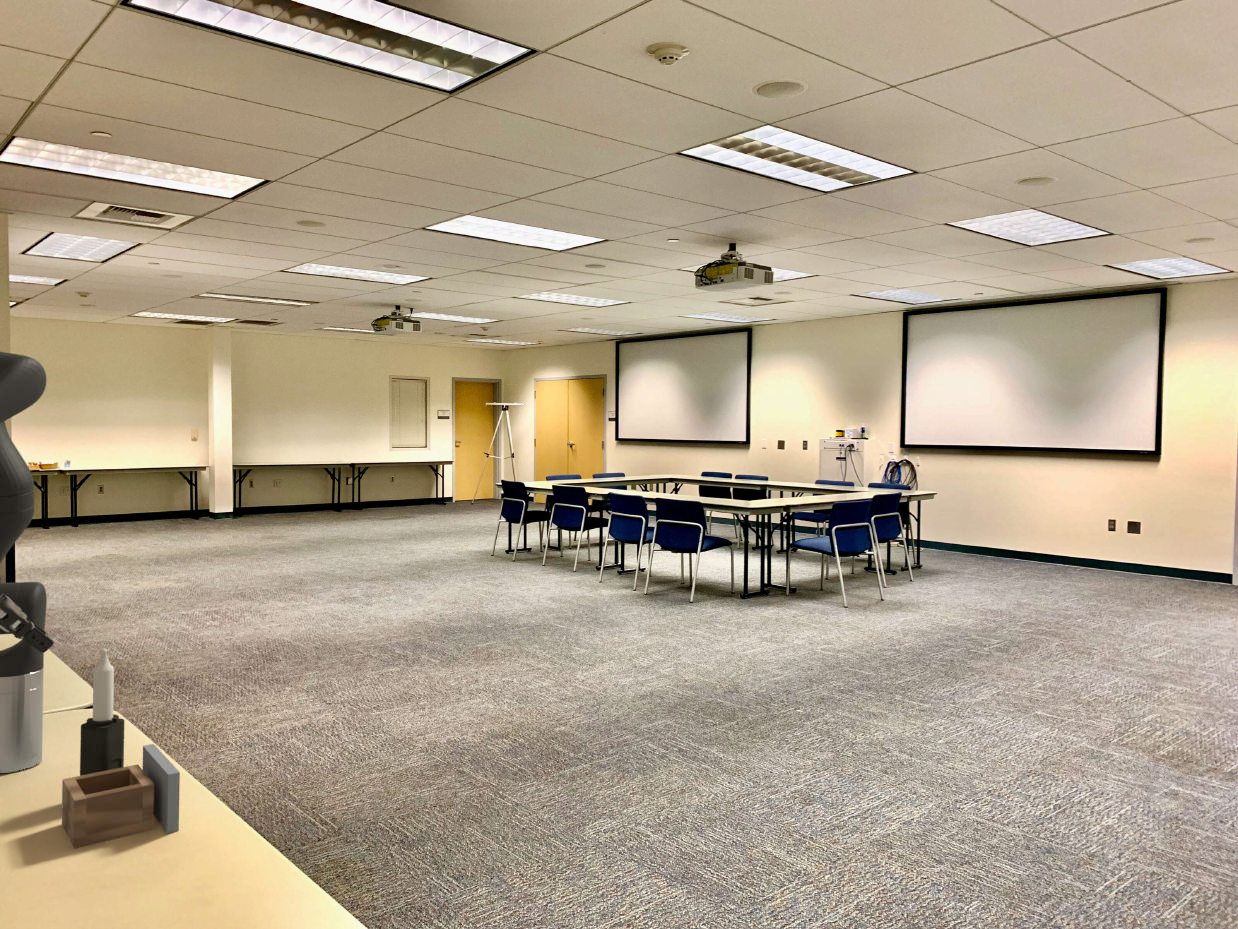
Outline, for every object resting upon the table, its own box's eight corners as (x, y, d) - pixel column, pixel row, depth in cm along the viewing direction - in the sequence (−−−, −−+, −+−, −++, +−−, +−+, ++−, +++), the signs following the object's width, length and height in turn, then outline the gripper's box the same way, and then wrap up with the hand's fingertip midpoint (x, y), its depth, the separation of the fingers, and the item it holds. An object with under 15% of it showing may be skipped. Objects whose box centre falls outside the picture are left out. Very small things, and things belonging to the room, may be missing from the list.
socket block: (61, 824, 133) (62, 779, 133) (137, 807, 139) (137, 764, 139) (73, 848, 125) (74, 801, 125) (153, 829, 132) (153, 784, 132)
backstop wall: (141, 799, 142) (142, 745, 142) (152, 797, 143) (153, 743, 143) (167, 833, 130) (168, 774, 130) (178, 830, 131) (179, 772, 131)
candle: (102, 806, 139) (105, 653, 139) (75, 803, 140) (78, 651, 140) (126, 794, 144) (129, 646, 144) (100, 791, 145) (103, 644, 145)
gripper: (-19, 563, 125) (72, 632, 133) (-27, 553, 136) (57, 617, 144) (-66, 603, 122) (30, 671, 130) (-70, 589, 133) (19, 653, 140)
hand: (44, 642), depth 137 cm, fingers open, 8 cm apart
